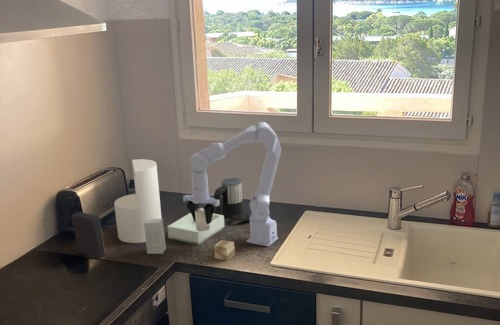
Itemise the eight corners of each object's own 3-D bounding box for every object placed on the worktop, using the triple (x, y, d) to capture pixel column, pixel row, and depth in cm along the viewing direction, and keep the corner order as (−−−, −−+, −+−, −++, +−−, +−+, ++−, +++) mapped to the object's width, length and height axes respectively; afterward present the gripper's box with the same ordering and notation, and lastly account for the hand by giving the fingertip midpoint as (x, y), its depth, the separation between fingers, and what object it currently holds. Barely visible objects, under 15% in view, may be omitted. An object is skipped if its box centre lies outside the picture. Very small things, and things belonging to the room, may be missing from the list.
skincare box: (166, 248, 197) (163, 218, 194) (163, 254, 193) (160, 223, 190) (149, 248, 198) (146, 218, 195) (146, 254, 194) (143, 223, 191)
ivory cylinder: (212, 226, 198) (211, 208, 196) (205, 231, 194) (203, 213, 192) (200, 224, 200) (199, 207, 198) (193, 229, 196) (192, 211, 194)
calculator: (106, 254, 195) (101, 215, 191) (97, 258, 192) (92, 219, 188) (85, 248, 201) (79, 210, 197) (76, 253, 197) (70, 214, 193)
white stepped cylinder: (160, 222, 222) (154, 157, 214) (165, 239, 206) (158, 169, 198) (117, 228, 218) (109, 162, 210) (118, 245, 202) (110, 174, 194)
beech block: (234, 255, 190) (234, 242, 189) (227, 261, 186) (226, 247, 185) (222, 252, 193) (222, 239, 191) (215, 258, 189) (214, 245, 187)
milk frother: (228, 209, 233) (226, 176, 229) (261, 213, 227) (260, 180, 222) (212, 221, 221) (210, 186, 217) (246, 226, 214) (244, 191, 210)
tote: (224, 227, 214) (223, 215, 213) (198, 244, 200) (197, 232, 198) (195, 221, 221) (194, 210, 220) (168, 238, 206) (167, 226, 205)
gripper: (177, 187, 192) (180, 222, 196) (211, 192, 186) (213, 229, 189) (188, 181, 198) (191, 215, 202) (221, 186, 191) (224, 221, 195)
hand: (202, 221), depth 196 cm, fingers closed on ivory cylinder, 5 cm apart
